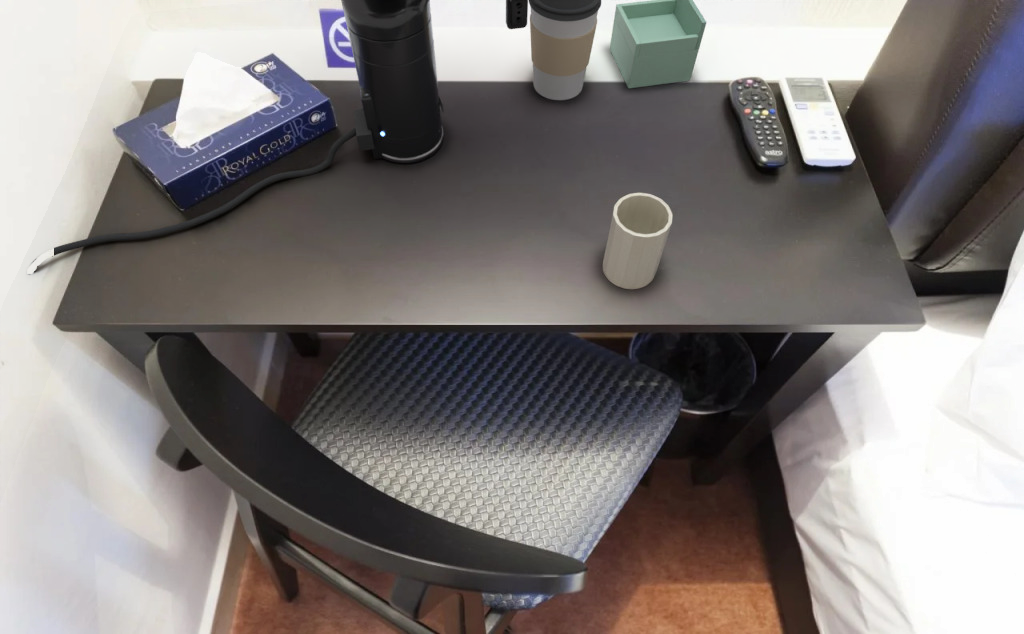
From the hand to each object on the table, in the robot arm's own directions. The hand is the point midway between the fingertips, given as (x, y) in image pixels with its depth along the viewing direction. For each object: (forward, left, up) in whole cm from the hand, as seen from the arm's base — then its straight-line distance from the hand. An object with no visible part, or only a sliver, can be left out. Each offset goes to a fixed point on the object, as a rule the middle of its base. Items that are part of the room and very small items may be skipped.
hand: (508, 4), depth 74 cm
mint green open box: (+23, +9, -17) cm, 30 cm away
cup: (+9, -26, -17) cm, 32 cm away
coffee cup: (+9, +7, -17) cm, 21 cm away
